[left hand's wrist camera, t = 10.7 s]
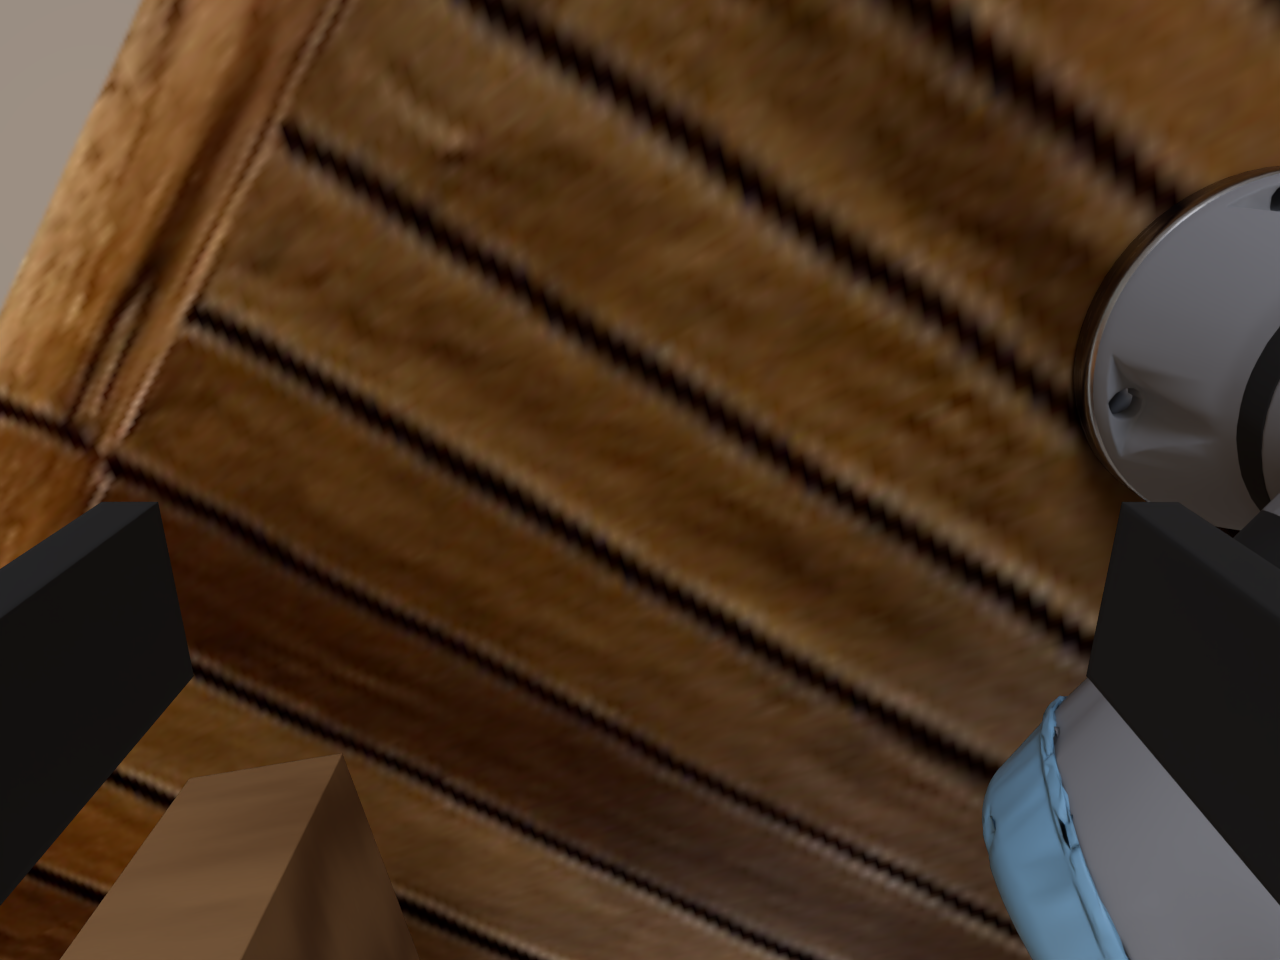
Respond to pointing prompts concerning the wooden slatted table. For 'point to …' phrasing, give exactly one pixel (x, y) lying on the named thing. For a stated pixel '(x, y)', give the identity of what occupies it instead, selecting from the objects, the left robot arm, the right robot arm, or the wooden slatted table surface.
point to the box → (255, 876)
